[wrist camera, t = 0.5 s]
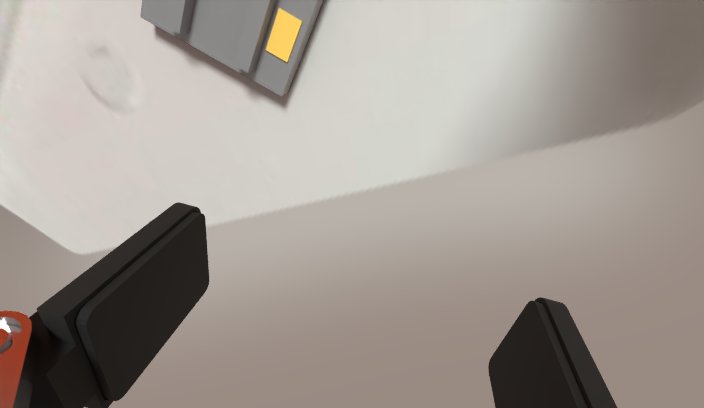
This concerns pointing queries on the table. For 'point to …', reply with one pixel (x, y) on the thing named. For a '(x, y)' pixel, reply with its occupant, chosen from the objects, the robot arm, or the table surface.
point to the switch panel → (242, 33)
